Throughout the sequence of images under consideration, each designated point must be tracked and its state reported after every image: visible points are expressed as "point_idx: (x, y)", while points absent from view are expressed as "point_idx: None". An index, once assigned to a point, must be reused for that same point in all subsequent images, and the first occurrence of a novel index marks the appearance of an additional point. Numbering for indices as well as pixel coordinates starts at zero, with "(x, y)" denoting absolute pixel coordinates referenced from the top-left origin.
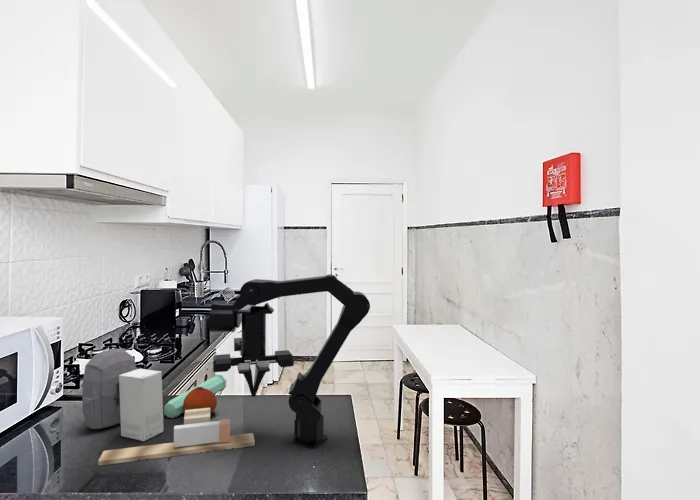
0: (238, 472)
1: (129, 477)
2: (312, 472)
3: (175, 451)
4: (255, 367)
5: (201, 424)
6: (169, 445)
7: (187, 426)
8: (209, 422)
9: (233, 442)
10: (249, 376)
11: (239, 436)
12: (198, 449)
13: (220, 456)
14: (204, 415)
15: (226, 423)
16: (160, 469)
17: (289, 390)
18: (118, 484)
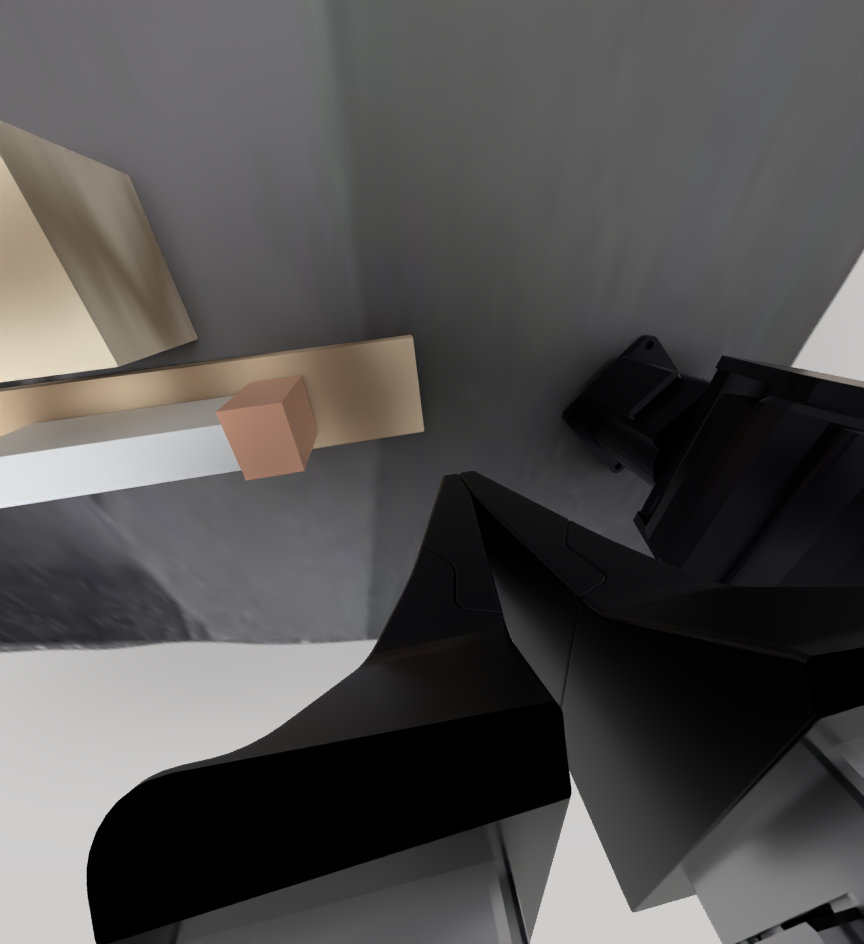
0: (381, 575)
1: (31, 590)
2: None
3: None
4: (695, 660)
5: (122, 465)
6: (9, 422)
7: (41, 484)
8: (162, 441)
9: (333, 430)
10: (473, 809)
11: (350, 370)
12: None
13: (301, 490)
14: (53, 339)
15: (281, 464)
16: (112, 554)
17: (743, 572)
18: (28, 618)
